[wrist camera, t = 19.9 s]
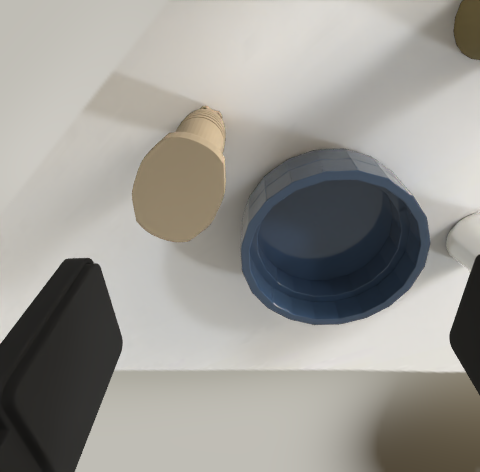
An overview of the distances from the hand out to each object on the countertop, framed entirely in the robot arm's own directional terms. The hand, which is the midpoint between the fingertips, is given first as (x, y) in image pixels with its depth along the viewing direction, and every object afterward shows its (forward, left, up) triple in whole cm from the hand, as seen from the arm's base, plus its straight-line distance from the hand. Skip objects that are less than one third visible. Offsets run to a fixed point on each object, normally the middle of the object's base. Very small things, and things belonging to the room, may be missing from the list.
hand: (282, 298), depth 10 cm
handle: (+2, -5, -26) cm, 27 cm away
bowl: (+13, +6, -26) cm, 30 cm away
